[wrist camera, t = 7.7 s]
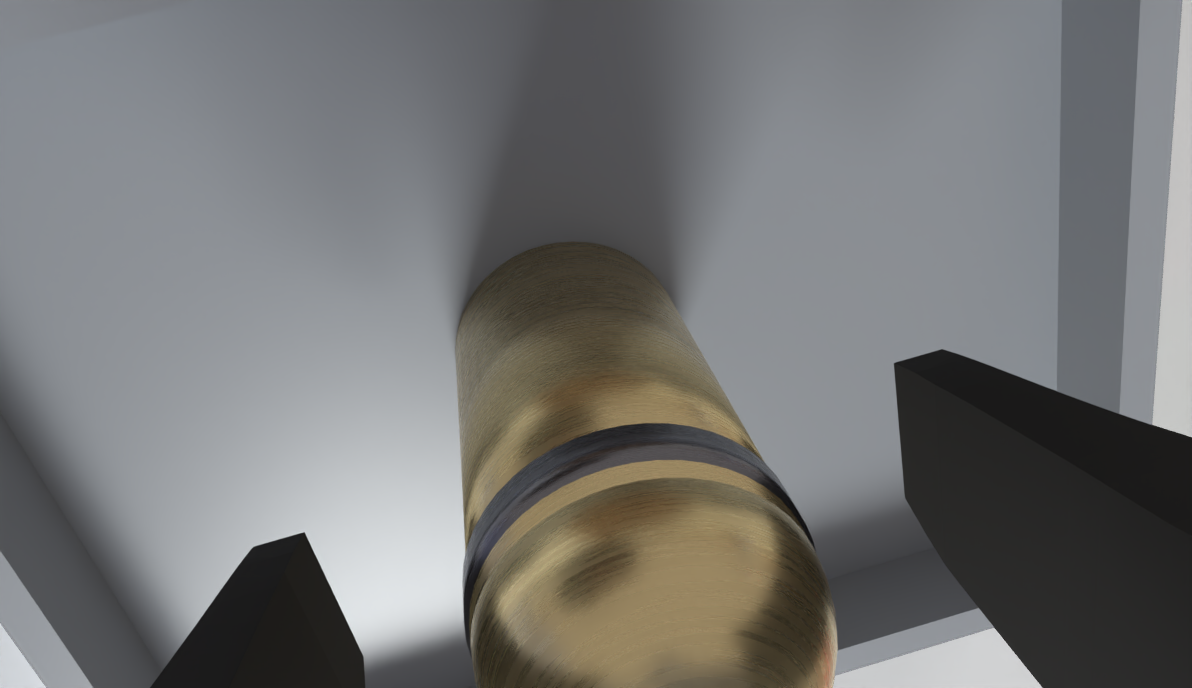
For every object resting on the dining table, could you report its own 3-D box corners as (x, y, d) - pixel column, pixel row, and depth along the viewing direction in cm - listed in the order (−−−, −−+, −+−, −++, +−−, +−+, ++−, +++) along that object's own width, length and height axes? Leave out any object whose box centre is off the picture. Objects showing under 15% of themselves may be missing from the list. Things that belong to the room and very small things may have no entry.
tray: (207, 755, 19) (179, 873, 16) (-239, 46, 12) (-385, 83, 10) (1058, 502, 20) (1140, 583, 17) (1070, -286, 13) (1204, -320, 11)
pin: (488, 470, 16) (536, 969, 9) (421, 274, 14) (411, 690, 7) (698, 412, 16) (921, 854, 9) (658, 211, 14) (893, 551, 7)
